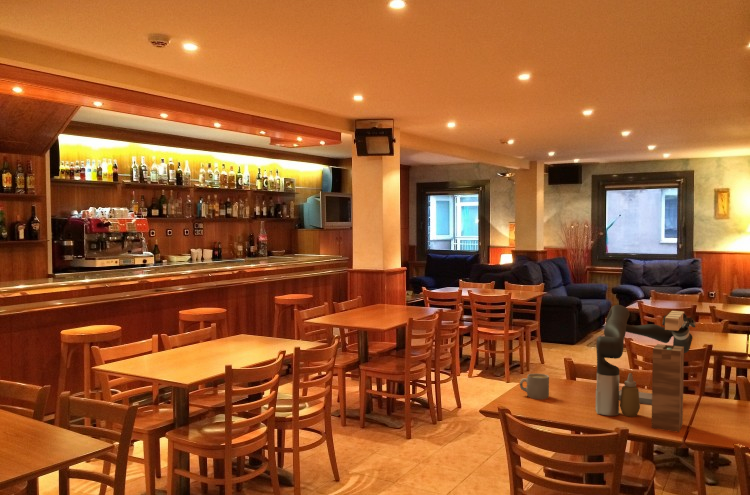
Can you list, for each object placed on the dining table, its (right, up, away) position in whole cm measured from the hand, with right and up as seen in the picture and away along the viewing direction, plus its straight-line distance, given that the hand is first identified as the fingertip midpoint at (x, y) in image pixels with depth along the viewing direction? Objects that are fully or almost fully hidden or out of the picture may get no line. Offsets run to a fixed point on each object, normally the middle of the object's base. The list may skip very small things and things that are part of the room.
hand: (676, 315), depth 277 cm
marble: (-13, -14, -20) cm, 27 cm away
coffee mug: (-57, -42, +24) cm, 74 cm away
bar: (-4, -4, -7) cm, 9 cm away
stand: (-14, -43, -22) cm, 50 cm away
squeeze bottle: (-23, -43, -6) cm, 49 cm away
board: (-6, -42, +15) cm, 45 cm away
